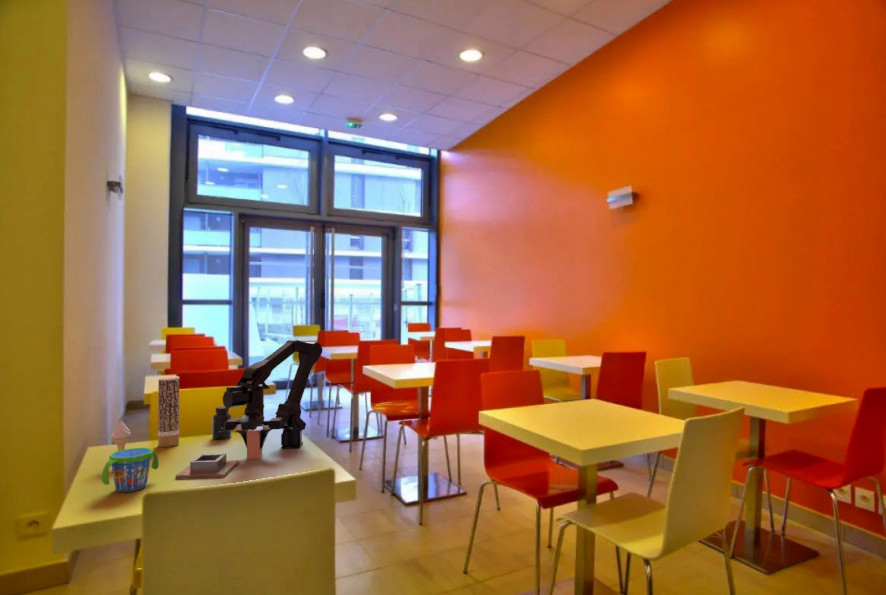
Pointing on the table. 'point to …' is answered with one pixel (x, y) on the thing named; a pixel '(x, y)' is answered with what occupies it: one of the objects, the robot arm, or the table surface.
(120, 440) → the ice cream cone
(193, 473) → the square socket base
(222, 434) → the supplement bottle
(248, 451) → the red post
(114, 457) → the snack cup
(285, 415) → the robot arm
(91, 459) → the table surface
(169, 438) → the paper tube
